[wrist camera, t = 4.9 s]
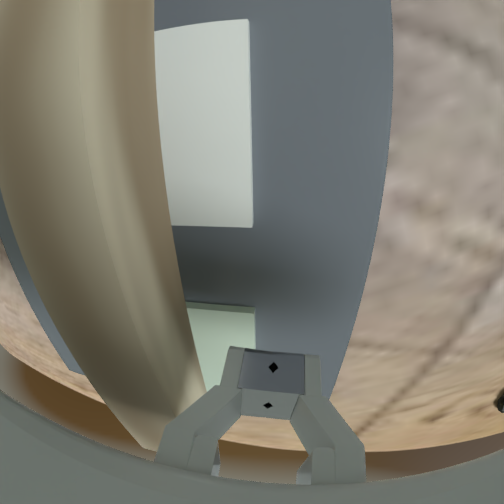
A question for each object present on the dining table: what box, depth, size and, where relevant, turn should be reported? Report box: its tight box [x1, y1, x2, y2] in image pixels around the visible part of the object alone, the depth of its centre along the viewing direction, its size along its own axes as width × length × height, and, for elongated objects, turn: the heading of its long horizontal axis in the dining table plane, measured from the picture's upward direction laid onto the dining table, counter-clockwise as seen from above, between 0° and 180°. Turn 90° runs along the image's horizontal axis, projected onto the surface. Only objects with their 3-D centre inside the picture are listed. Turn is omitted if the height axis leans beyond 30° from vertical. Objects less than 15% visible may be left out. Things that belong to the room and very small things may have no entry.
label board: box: [0, 0, 393, 400], centre depth 11 cm, size 20×28×4 cm
